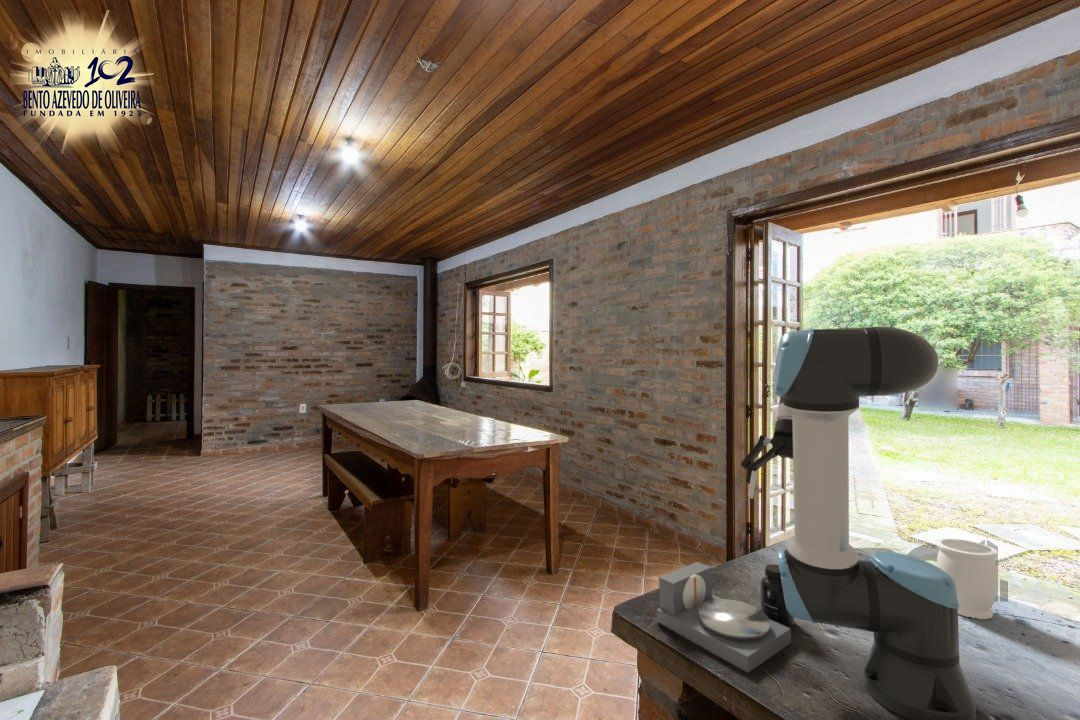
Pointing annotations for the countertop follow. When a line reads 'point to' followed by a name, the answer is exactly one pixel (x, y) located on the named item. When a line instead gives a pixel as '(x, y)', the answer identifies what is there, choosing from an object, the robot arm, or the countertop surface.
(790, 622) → the supplement bottle
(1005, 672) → the countertop surface
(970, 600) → the jar
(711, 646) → the scale
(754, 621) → the scale pan
